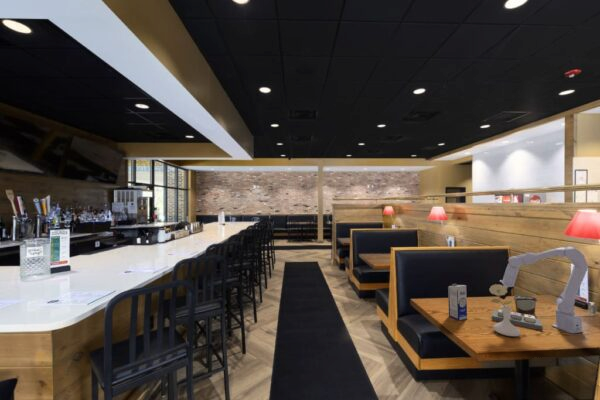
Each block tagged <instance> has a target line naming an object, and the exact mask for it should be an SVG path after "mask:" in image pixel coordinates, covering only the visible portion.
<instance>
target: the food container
mask: <svg viewBox="0 0 600 400" xmlns="http://www.w3.org/2000/svg"><path fill="white" fill-rule="evenodd" d="M513 301H514V303H515V310H516V311H515V312H516V313H521V315H524V314H526V315H535V314H536V303H537V302H538V300H537V298H536V297H534V296H532V295H525V294H515V295H514V296H513Z"/></svg>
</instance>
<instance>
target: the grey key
mask: <svg viewBox="0 0 600 400" xmlns="http://www.w3.org/2000/svg"><path fill="white" fill-rule="evenodd" d="M510 313H511V318H514V319H519V320H521V315H522V314H521V313H517V312H516V311H514V312H513V311H510Z"/></svg>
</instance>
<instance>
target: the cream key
mask: <svg viewBox="0 0 600 400" xmlns="http://www.w3.org/2000/svg"><path fill="white" fill-rule="evenodd" d="M523 316H524V318H525V321H529V322H534V323H535V318H536V316H535V315H533V314H523Z"/></svg>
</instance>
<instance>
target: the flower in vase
mask: <svg viewBox="0 0 600 400" xmlns="http://www.w3.org/2000/svg"><path fill="white" fill-rule="evenodd" d="M488 290H489V292H490V293H491V294H492V295H495V296H498V299H497V298H492V299H491V300H490V302H493V303H496V304H498V303H501V304H502V305H501V304H500V306H499V307H500V308H501V310H503V314H504V319H503V321H502V322H500V321H499V322H497V323H496V324H494V325H493V330H494V331H495V332H496V333H498V334H501V335H503V336H507V337H519V336H520V335H521V331H520V329H518V327H516V325H514V324H511V323H510V321H509V313H511V310H513V307H512V306H510V305H509V304H511V303H512V301H513V300H508V301H507V300H506V301H504V303H503V302H502V300H501V298H500V295H505V294H506V293H507V289H506V288H505V287H504V286H503V285H502V284H496V283H495V284H492V285H491V286H490V288H489V289H488Z"/></svg>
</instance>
